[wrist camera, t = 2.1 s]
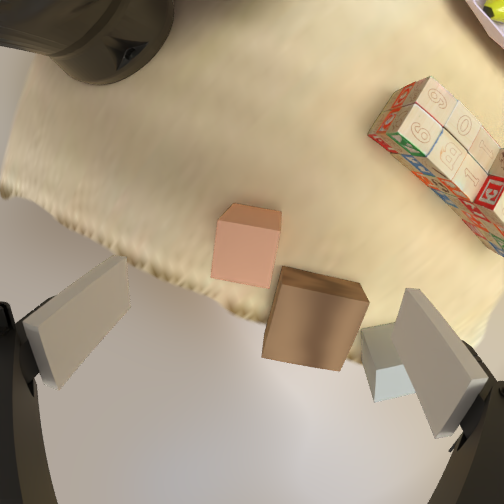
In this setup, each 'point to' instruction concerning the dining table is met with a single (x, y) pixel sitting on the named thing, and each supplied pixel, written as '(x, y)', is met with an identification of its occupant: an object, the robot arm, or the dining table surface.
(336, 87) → the dining table surface
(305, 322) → the walnut base
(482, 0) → the fruit bowl
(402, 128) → the stack of blocks
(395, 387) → the greyblue block
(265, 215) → the terracotta block
